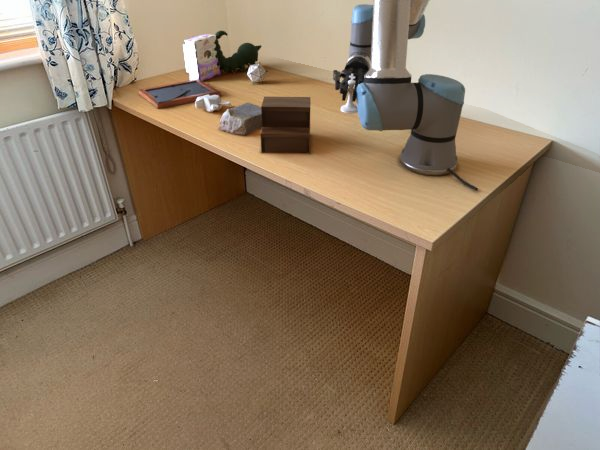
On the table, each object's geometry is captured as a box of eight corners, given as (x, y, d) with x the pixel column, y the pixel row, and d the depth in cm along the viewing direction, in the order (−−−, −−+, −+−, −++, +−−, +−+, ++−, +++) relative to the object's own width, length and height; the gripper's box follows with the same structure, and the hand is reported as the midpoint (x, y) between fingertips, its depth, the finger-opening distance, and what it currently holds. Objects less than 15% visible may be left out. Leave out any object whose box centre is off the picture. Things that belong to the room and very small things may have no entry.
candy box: (210, 72, 194) (206, 33, 185) (221, 74, 191) (216, 34, 182) (189, 80, 184) (183, 39, 175) (199, 82, 182) (194, 41, 172)
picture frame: (157, 108, 156) (220, 95, 168) (156, 103, 155) (219, 90, 167) (139, 94, 169) (198, 83, 181) (138, 88, 168) (197, 78, 180)
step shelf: (309, 153, 125) (310, 113, 119) (261, 152, 126) (259, 112, 119) (309, 134, 137) (310, 97, 130) (265, 133, 137) (264, 96, 130)
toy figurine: (222, 81, 189) (269, 66, 201) (214, 35, 178) (264, 22, 189) (212, 76, 196) (258, 62, 207) (203, 31, 184) (252, 19, 195)
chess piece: (353, 115, 118) (356, 78, 112) (337, 111, 120) (339, 74, 114) (361, 109, 121) (364, 73, 115) (346, 105, 123) (348, 69, 117)
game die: (261, 92, 183) (266, 77, 174) (241, 85, 181) (246, 69, 173) (266, 76, 187) (271, 60, 178) (247, 69, 185) (251, 53, 176)
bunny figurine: (210, 91, 160) (233, 96, 150) (213, 104, 162) (235, 110, 152) (188, 96, 155) (210, 102, 145) (190, 110, 157) (212, 117, 147)
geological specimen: (273, 108, 142) (241, 119, 131) (272, 126, 145) (241, 138, 135) (249, 101, 147) (216, 111, 137) (249, 118, 150) (217, 129, 140)
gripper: (381, 83, 132) (376, 112, 113) (332, 79, 134) (320, 107, 116) (384, 57, 128) (379, 83, 109) (333, 54, 130) (321, 79, 111)
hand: (349, 95), depth 112 cm, fingers closed on chess piece, 2 cm apart
